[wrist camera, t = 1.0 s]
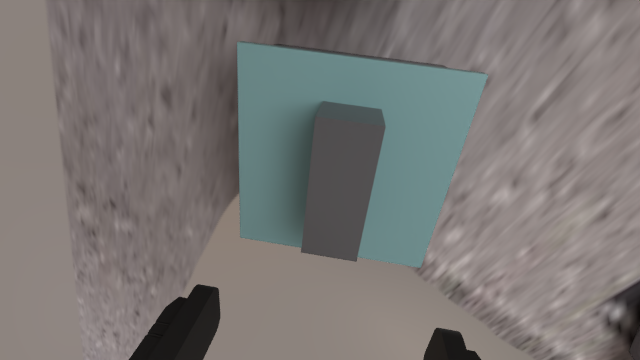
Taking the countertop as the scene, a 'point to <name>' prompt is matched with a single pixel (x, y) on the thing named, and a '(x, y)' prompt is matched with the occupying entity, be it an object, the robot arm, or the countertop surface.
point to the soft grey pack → (636, 346)
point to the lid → (348, 150)
